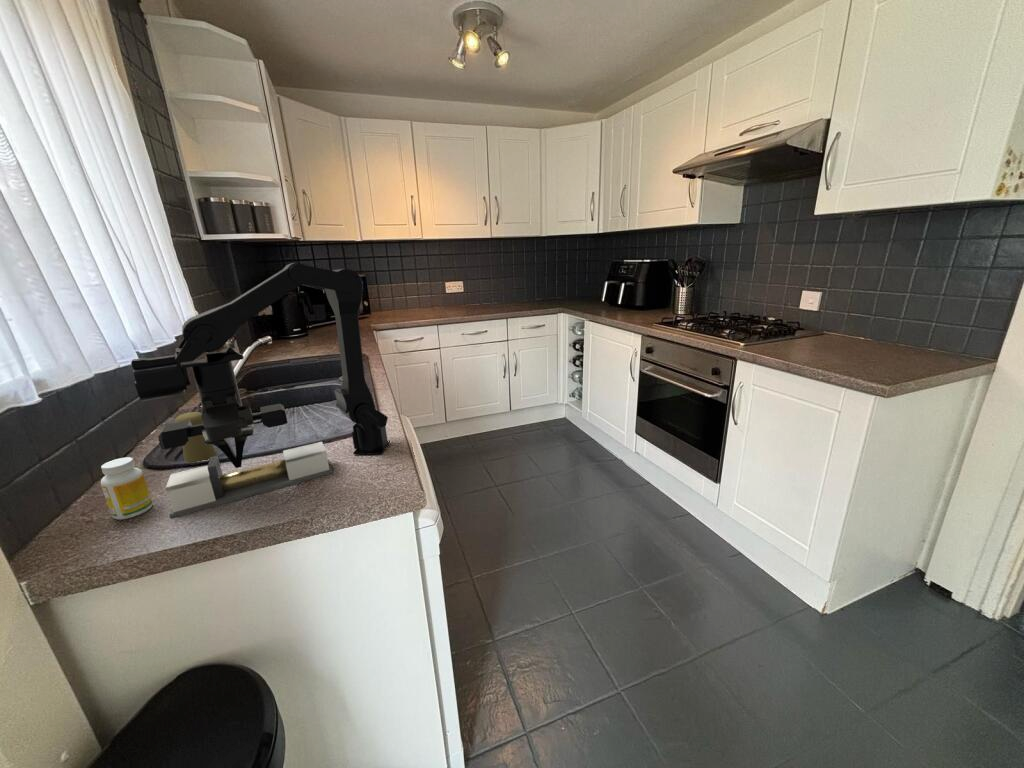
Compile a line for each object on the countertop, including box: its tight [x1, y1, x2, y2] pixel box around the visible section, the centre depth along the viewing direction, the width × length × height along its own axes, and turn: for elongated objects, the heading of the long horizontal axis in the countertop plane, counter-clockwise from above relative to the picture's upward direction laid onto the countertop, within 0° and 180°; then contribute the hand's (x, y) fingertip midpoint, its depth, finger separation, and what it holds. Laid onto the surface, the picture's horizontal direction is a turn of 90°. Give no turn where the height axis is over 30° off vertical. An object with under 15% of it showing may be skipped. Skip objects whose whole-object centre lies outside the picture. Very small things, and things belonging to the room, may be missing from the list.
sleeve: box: [282, 441, 329, 480], centre depth 82 cm, size 7×5×4 cm
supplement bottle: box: [100, 456, 153, 520], centre depth 70 cm, size 5×5×10 cm
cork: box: [174, 411, 219, 463], centre depth 89 cm, size 6×6×11 cm
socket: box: [165, 464, 216, 512], centre depth 72 cm, size 6×6×5 cm
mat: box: [168, 461, 333, 519], centre depth 78 cm, size 26×7×1 cm, turn 122°
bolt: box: [207, 456, 288, 498], centre depth 76 cm, size 17×5×6 cm, turn 122°
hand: (238, 466), depth 76 cm, fingers closed
